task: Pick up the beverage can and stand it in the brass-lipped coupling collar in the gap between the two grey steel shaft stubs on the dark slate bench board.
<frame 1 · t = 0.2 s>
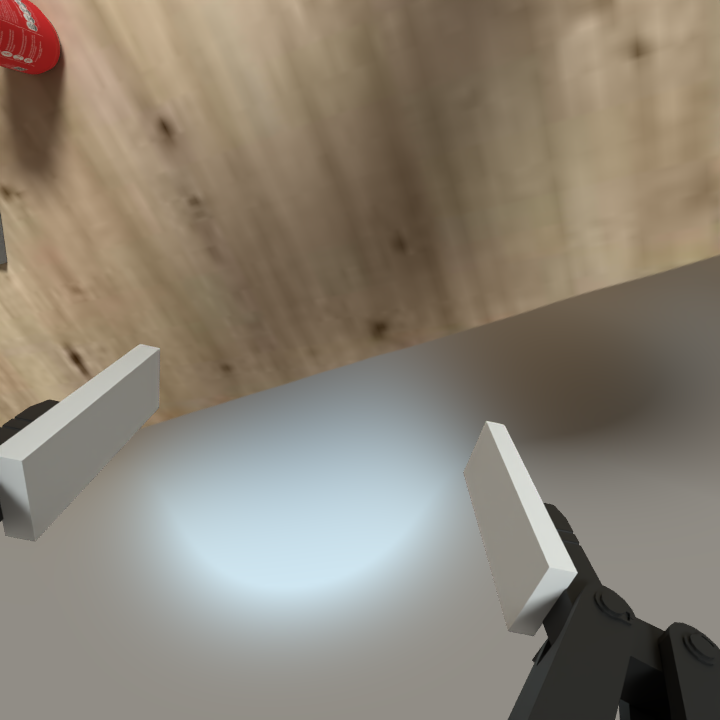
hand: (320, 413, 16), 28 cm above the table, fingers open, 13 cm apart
beverage can: (36, 41, 34), on the table
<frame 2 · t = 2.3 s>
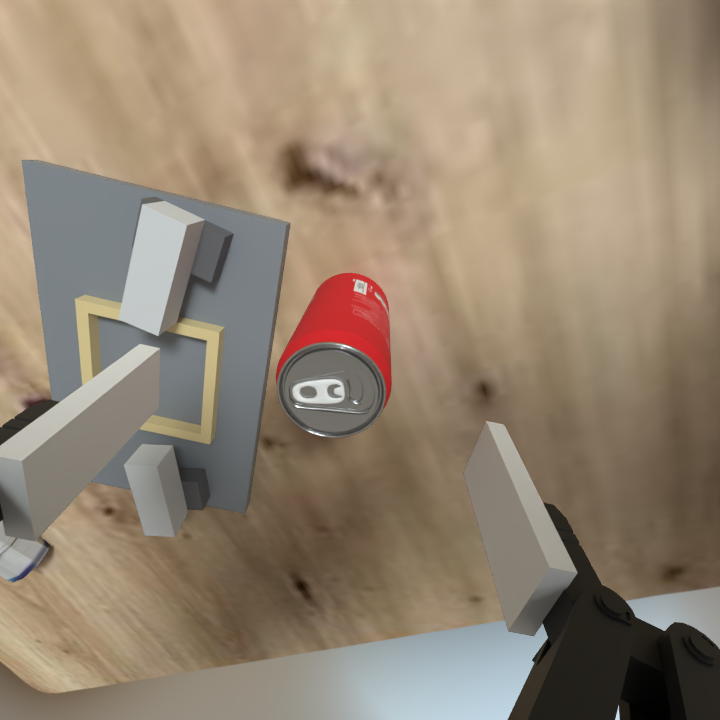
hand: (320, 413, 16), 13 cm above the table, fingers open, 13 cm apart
beverage can: (351, 305, 28), on the table
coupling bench: (163, 364, 31), on the table
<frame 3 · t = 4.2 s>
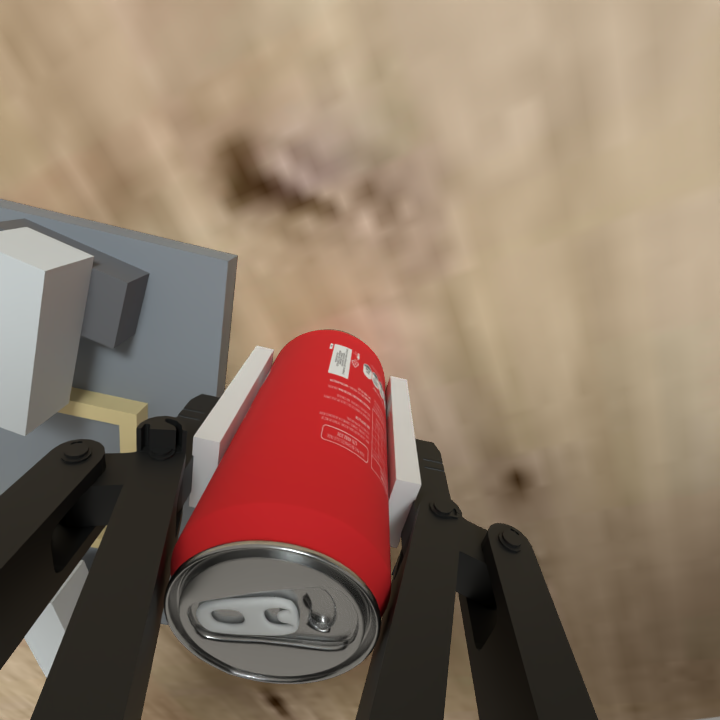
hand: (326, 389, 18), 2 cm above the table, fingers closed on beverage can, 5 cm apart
beverage can: (331, 369, 20), on the table, touching gripper
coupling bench: (71, 445, 22), on the table
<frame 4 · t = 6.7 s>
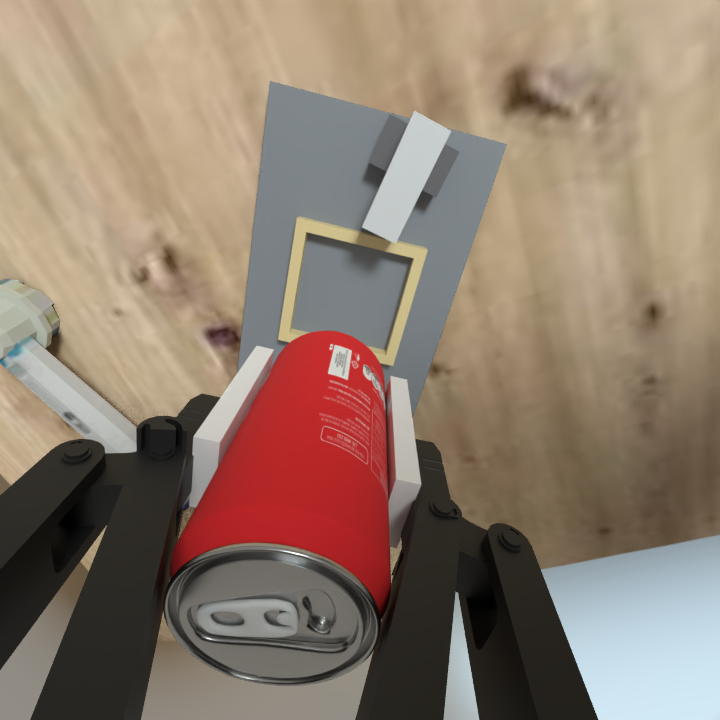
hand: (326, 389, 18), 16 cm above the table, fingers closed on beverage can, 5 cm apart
beverage can: (331, 370, 20), point 14 cm above the table, touching gripper
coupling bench: (350, 289, 33), on the table
white long shaft part: (113, 393, 39), on the table
when the fingers open (4 cm above the table, at t = 9.2 s): beverage can stays where it is, resting on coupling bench.
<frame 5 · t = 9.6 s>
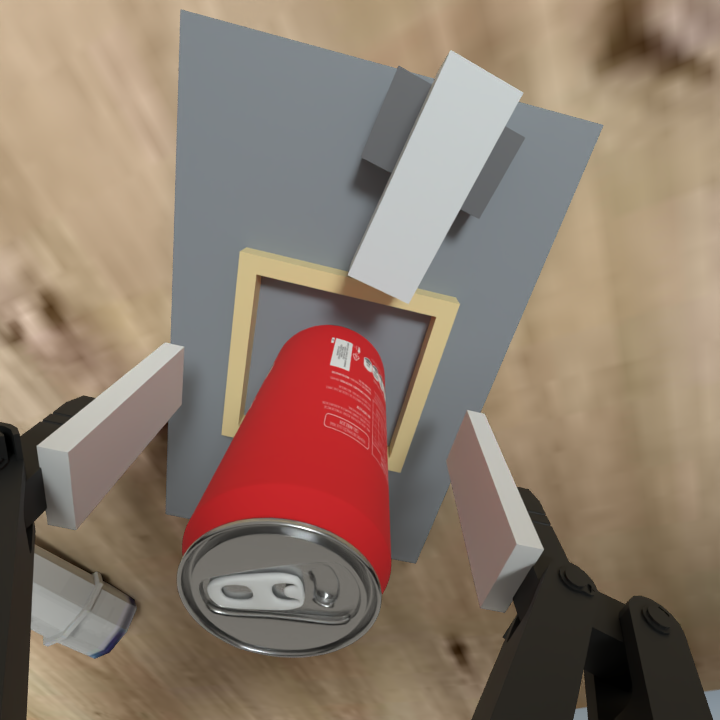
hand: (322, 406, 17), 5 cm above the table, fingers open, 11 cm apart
beverage can: (332, 364, 20), point 1 cm above the table, touching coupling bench
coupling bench: (334, 356, 21), on the table
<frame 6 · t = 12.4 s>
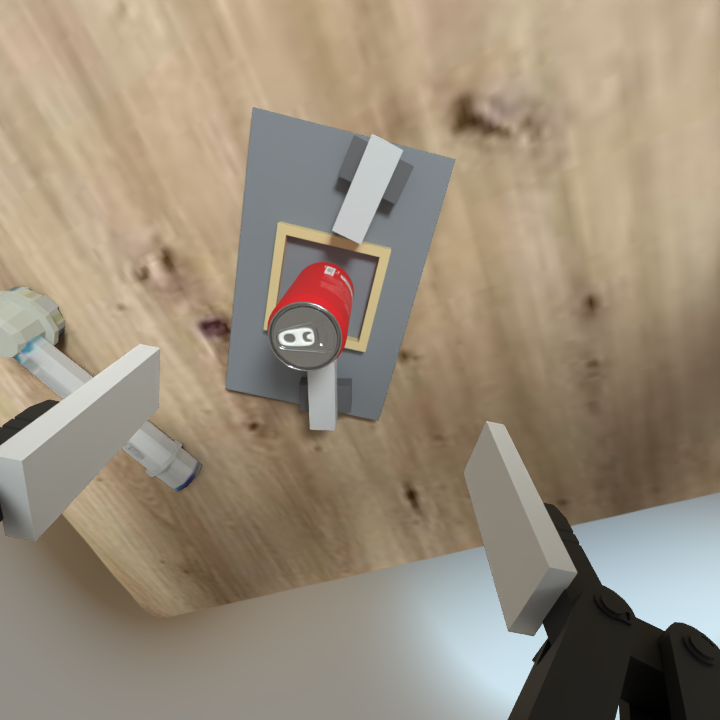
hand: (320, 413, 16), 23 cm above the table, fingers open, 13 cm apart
beverage can: (325, 288, 36), point 1 cm above the table, touching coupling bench
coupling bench: (327, 285, 37), on the table
white long shaft part: (115, 385, 43), on the table
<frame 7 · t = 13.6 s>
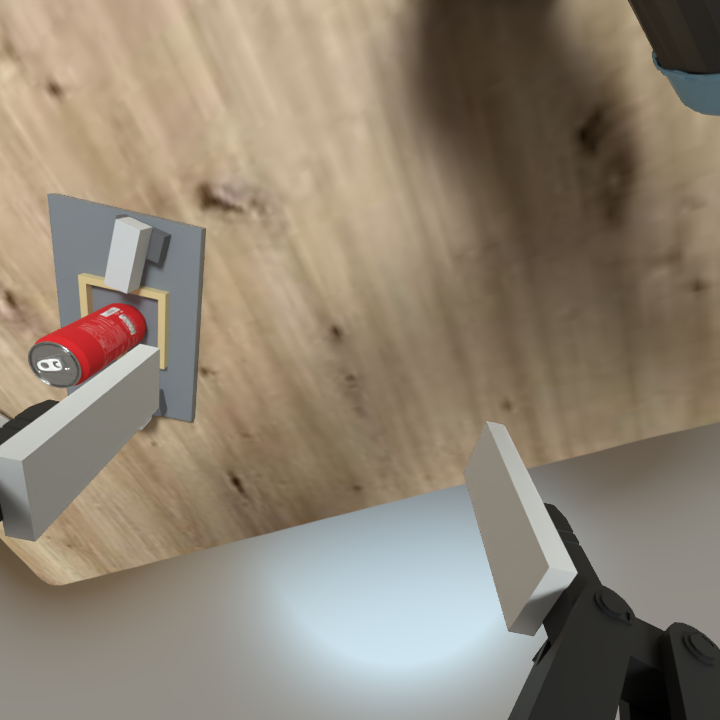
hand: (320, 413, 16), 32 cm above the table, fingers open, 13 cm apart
beverage can: (128, 320, 48), point 1 cm above the table, touching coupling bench
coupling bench: (133, 318, 49), on the table
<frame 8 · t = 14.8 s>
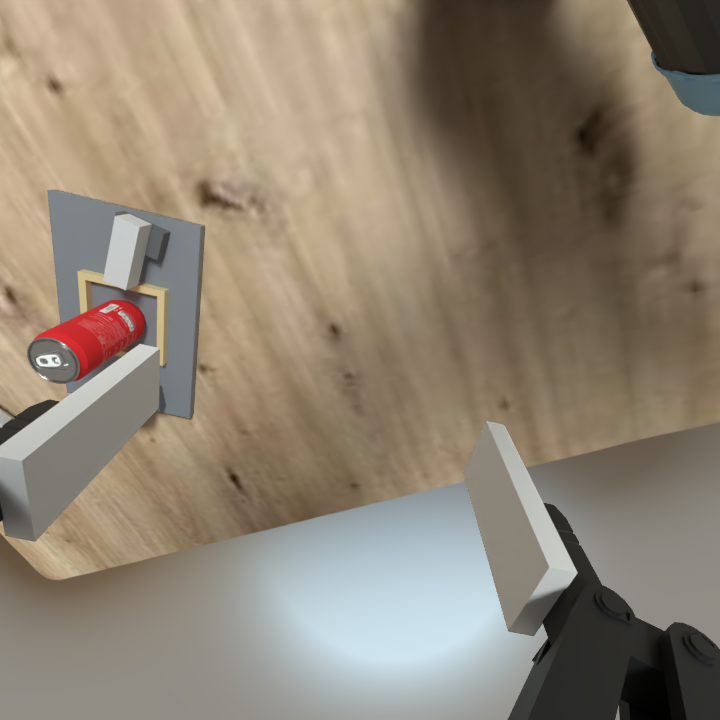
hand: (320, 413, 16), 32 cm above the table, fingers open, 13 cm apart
beverage can: (128, 317, 48), point 1 cm above the table, touching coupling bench
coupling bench: (132, 314, 49), on the table
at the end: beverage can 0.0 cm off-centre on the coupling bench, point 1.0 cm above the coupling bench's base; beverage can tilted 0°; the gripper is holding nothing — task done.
